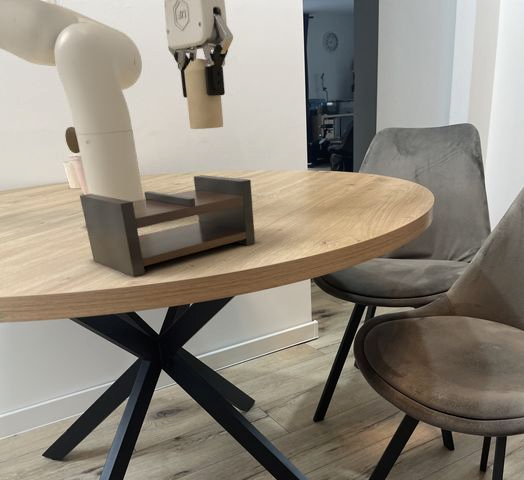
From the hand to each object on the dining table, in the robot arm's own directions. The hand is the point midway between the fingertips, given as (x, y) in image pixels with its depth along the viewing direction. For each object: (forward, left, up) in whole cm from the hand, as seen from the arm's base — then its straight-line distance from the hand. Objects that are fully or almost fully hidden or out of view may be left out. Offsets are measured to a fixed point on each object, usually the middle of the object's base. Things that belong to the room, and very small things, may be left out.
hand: (203, 95), depth 83 cm
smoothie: (-58, +2, -20) cm, 61 cm away
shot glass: (-74, +6, -20) cm, 77 cm away
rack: (+12, -16, -20) cm, 29 cm away
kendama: (-45, -1, -20) cm, 49 cm away
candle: (0, 0, -5) cm, 5 cm away
